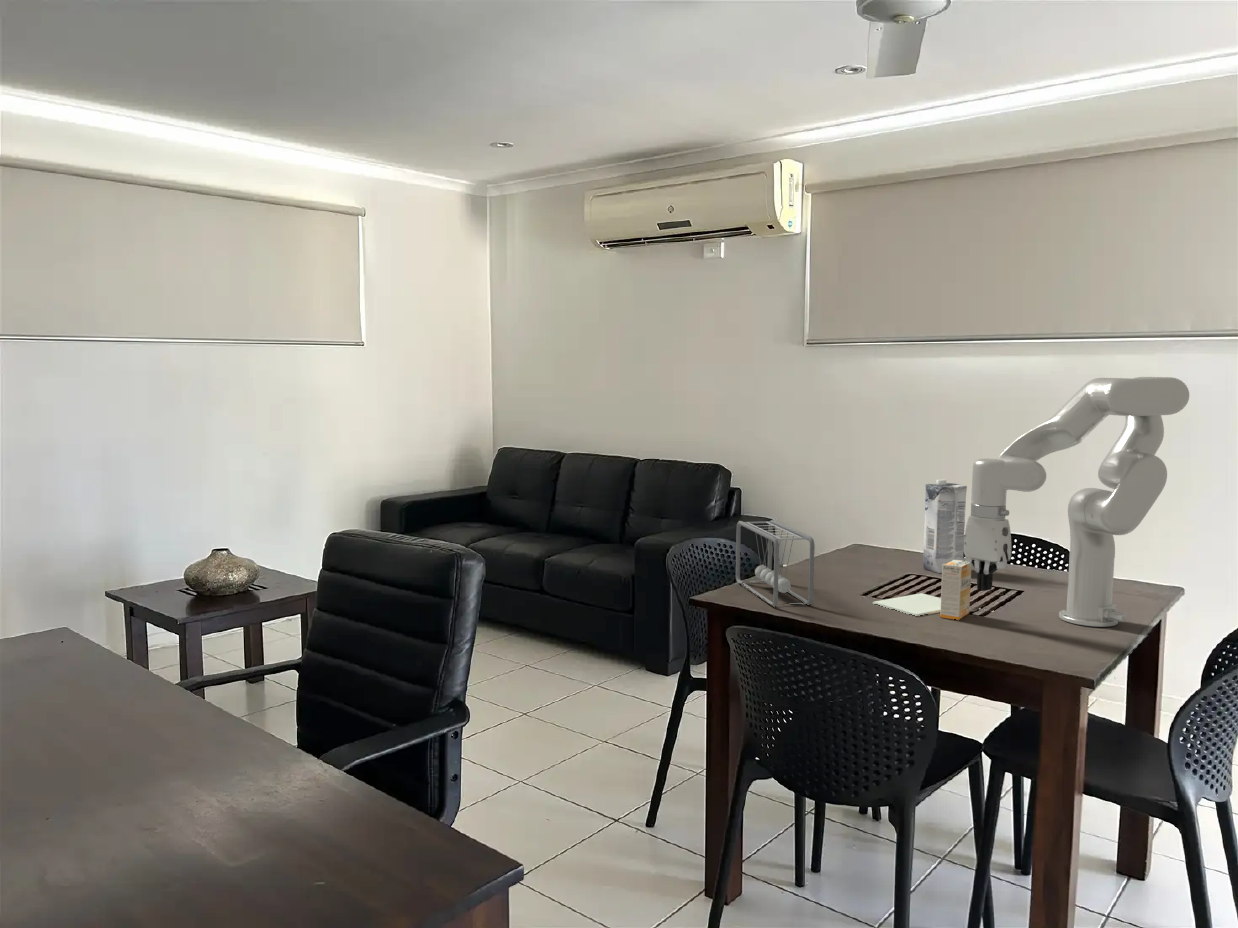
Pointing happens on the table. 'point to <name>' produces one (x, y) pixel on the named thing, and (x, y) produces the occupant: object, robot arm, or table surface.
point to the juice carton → (943, 524)
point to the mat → (913, 604)
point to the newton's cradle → (775, 560)
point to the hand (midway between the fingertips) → (984, 589)
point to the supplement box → (955, 589)
